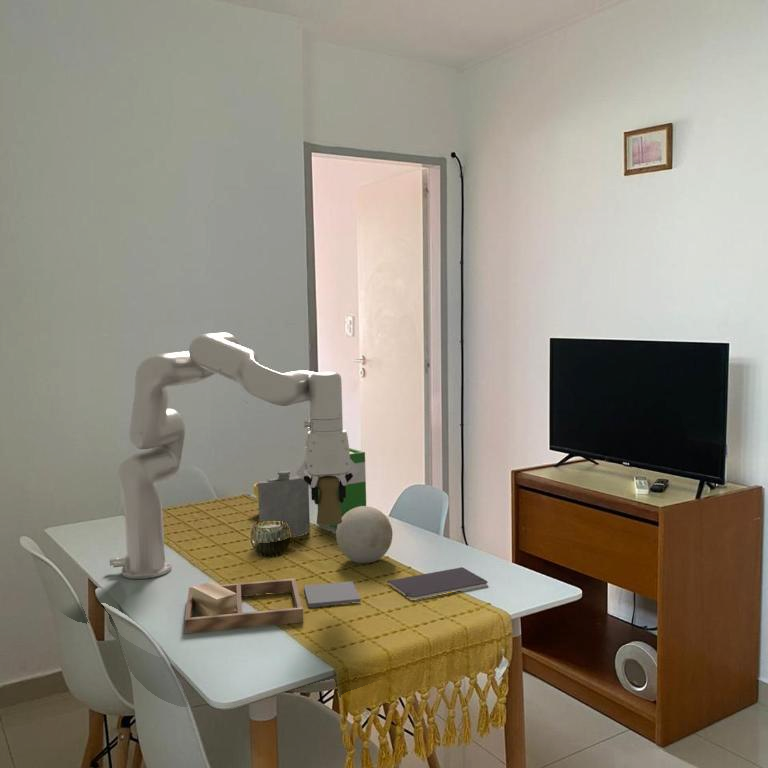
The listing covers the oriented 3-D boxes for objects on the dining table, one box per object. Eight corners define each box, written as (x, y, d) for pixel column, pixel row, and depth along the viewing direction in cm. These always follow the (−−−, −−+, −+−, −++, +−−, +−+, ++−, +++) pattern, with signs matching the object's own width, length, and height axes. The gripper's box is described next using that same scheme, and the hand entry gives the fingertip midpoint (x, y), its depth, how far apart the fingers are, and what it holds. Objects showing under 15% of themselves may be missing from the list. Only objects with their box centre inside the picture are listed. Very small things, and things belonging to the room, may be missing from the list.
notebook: (462, 572, 208) (387, 586, 199) (462, 567, 207) (387, 580, 199) (489, 588, 196) (411, 603, 187) (489, 581, 196) (410, 597, 187)
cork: (319, 526, 186) (317, 479, 185) (314, 520, 192) (312, 474, 191) (344, 524, 188) (343, 477, 186) (339, 517, 193) (337, 472, 192)
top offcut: (217, 612, 177) (216, 599, 176) (192, 599, 185) (191, 586, 184) (237, 606, 180) (236, 593, 180) (211, 594, 188) (211, 581, 188)
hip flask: (307, 530, 247) (305, 466, 245) (313, 534, 243) (310, 468, 241) (258, 539, 239) (255, 473, 237) (263, 543, 235) (260, 475, 233)
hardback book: (318, 521, 258) (315, 446, 255) (338, 517, 262) (336, 444, 259) (345, 533, 243) (343, 455, 240) (366, 529, 247) (364, 452, 244)
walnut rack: (185, 633, 172) (184, 619, 171) (189, 599, 191) (189, 587, 191) (303, 622, 176) (302, 608, 176) (295, 590, 196) (295, 578, 196)
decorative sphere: (328, 558, 220) (326, 504, 218) (377, 550, 226) (376, 497, 225) (351, 574, 206) (349, 517, 205) (403, 565, 213) (401, 509, 212)
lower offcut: (210, 629, 175) (210, 615, 175) (193, 608, 187) (192, 595, 187) (237, 623, 178) (236, 610, 178) (218, 603, 190) (218, 590, 190)
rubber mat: (308, 607, 185) (308, 603, 185) (303, 589, 196) (303, 585, 196) (360, 602, 187) (360, 598, 187) (352, 585, 199) (352, 581, 198)
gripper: (290, 429, 182) (293, 508, 184) (365, 425, 185) (367, 503, 187) (288, 425, 189) (290, 500, 191) (360, 421, 193) (362, 496, 195)
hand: (328, 501), depth 189 cm, fingers closed on cork, 5 cm apart
